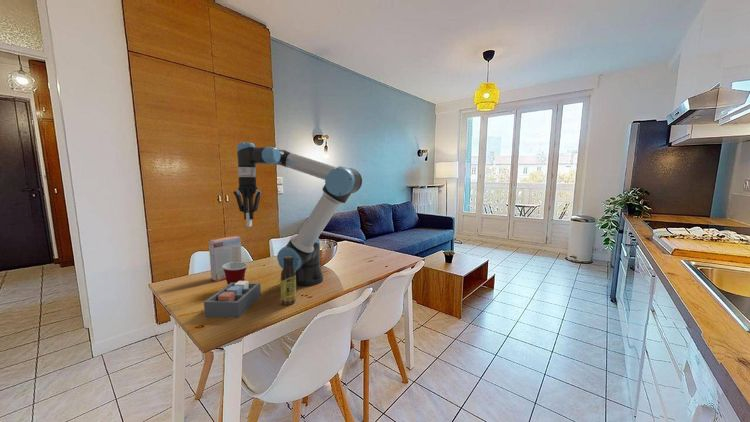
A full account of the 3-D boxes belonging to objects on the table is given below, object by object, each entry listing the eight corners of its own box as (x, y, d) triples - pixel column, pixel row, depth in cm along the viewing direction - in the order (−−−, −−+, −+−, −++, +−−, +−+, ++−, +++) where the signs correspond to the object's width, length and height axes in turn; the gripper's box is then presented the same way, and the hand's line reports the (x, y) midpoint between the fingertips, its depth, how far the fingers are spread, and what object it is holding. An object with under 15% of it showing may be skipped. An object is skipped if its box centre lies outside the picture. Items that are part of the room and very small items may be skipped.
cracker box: (237, 272, 158) (235, 235, 156) (242, 274, 155) (241, 236, 153) (210, 279, 147) (208, 239, 145) (216, 282, 144) (213, 241, 141)
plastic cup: (238, 294, 129) (237, 269, 127) (218, 292, 131) (216, 267, 129) (253, 286, 139) (252, 262, 138) (234, 284, 141) (233, 260, 140)
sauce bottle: (287, 307, 117) (286, 260, 115) (277, 303, 121) (276, 257, 118) (299, 301, 123) (298, 256, 120) (289, 297, 126) (288, 254, 124)
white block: (248, 291, 126) (248, 281, 125) (244, 295, 122) (243, 284, 121) (239, 291, 126) (239, 280, 125) (234, 295, 122) (234, 284, 121)
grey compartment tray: (260, 295, 128) (260, 282, 127) (238, 317, 108) (238, 302, 107) (231, 295, 128) (231, 282, 127) (204, 317, 108) (203, 301, 107)
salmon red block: (235, 304, 114) (234, 292, 113) (229, 308, 110) (228, 296, 109) (224, 303, 114) (223, 291, 113) (218, 308, 110) (218, 296, 109)
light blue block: (242, 297, 120) (241, 286, 119) (237, 302, 116) (236, 290, 115) (232, 297, 120) (231, 286, 119) (227, 301, 116) (226, 290, 115)
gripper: (229, 176, 130) (231, 227, 133) (257, 176, 130) (259, 227, 133) (237, 176, 137) (239, 224, 140) (264, 176, 137) (265, 225, 140)
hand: (249, 226), depth 136 cm, fingers closed
